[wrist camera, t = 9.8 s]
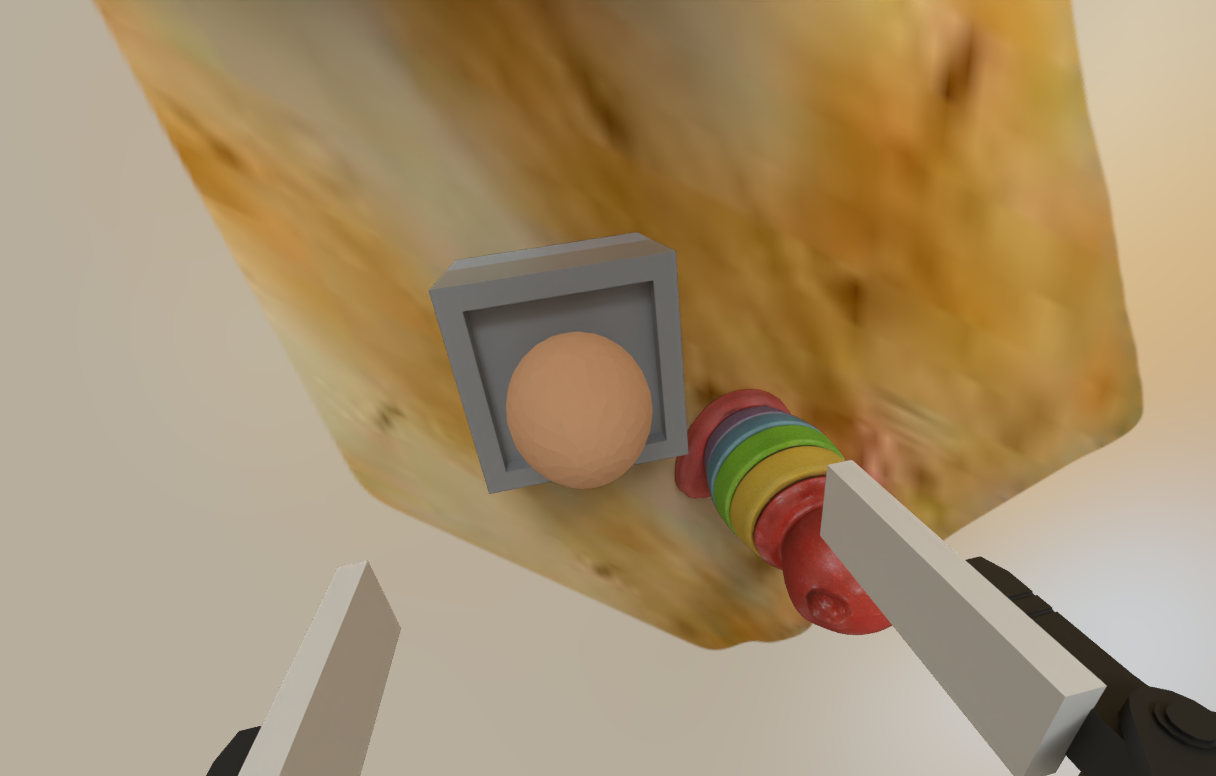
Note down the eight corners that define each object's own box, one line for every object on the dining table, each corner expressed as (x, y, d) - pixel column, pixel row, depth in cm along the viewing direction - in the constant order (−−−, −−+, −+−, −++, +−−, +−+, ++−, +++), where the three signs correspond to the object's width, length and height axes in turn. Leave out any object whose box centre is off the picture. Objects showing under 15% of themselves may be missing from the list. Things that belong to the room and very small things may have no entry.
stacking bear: (672, 493, 40) (766, 700, 24) (681, 388, 36) (803, 555, 20) (786, 483, 42) (946, 671, 26) (808, 382, 38) (1014, 531, 22)
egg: (507, 424, 26) (498, 533, 18) (510, 308, 23) (501, 374, 15) (623, 427, 27) (663, 530, 19) (639, 316, 25) (692, 383, 17)
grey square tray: (456, 260, 30) (428, 290, 21) (637, 232, 31) (675, 250, 23) (498, 420, 35) (489, 494, 27) (652, 392, 36) (688, 454, 28)
